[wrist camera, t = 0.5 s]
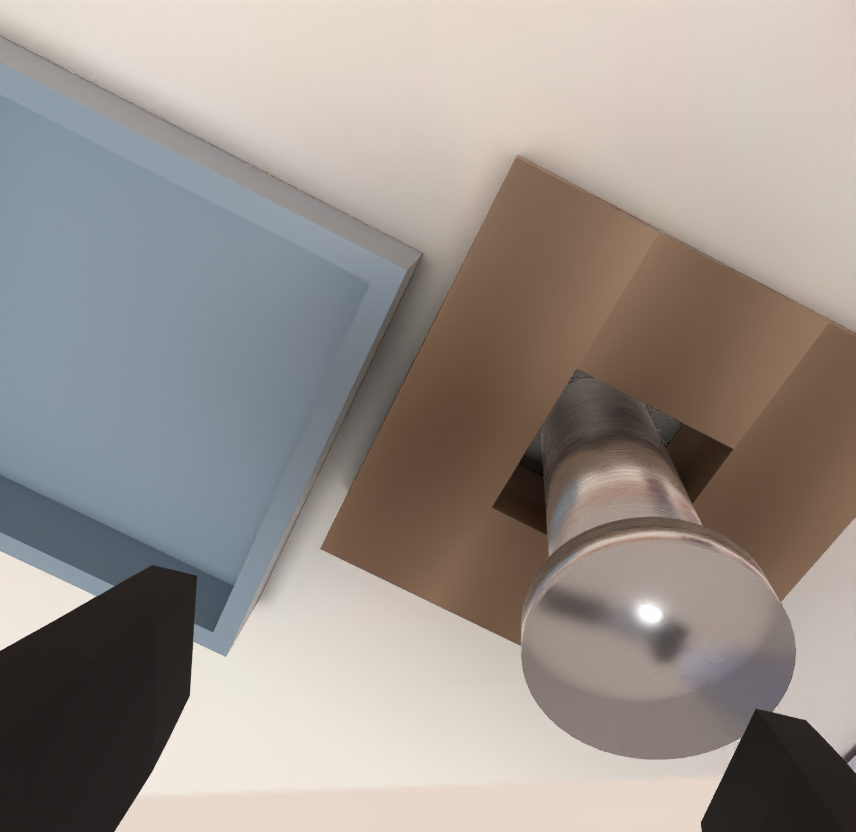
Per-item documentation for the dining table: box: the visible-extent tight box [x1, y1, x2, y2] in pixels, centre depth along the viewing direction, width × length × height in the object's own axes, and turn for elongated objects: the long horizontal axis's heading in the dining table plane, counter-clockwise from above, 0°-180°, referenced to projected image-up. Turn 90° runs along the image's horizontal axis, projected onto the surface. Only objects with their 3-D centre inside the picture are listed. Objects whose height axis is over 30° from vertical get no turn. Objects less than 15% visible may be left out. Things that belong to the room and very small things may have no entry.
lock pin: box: [521, 377, 796, 759], centre depth 14 cm, size 4×4×9 cm
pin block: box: [321, 155, 856, 646], centre depth 17 cm, size 10×10×3 cm
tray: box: [0, 36, 422, 657], centre depth 18 cm, size 12×12×2 cm
